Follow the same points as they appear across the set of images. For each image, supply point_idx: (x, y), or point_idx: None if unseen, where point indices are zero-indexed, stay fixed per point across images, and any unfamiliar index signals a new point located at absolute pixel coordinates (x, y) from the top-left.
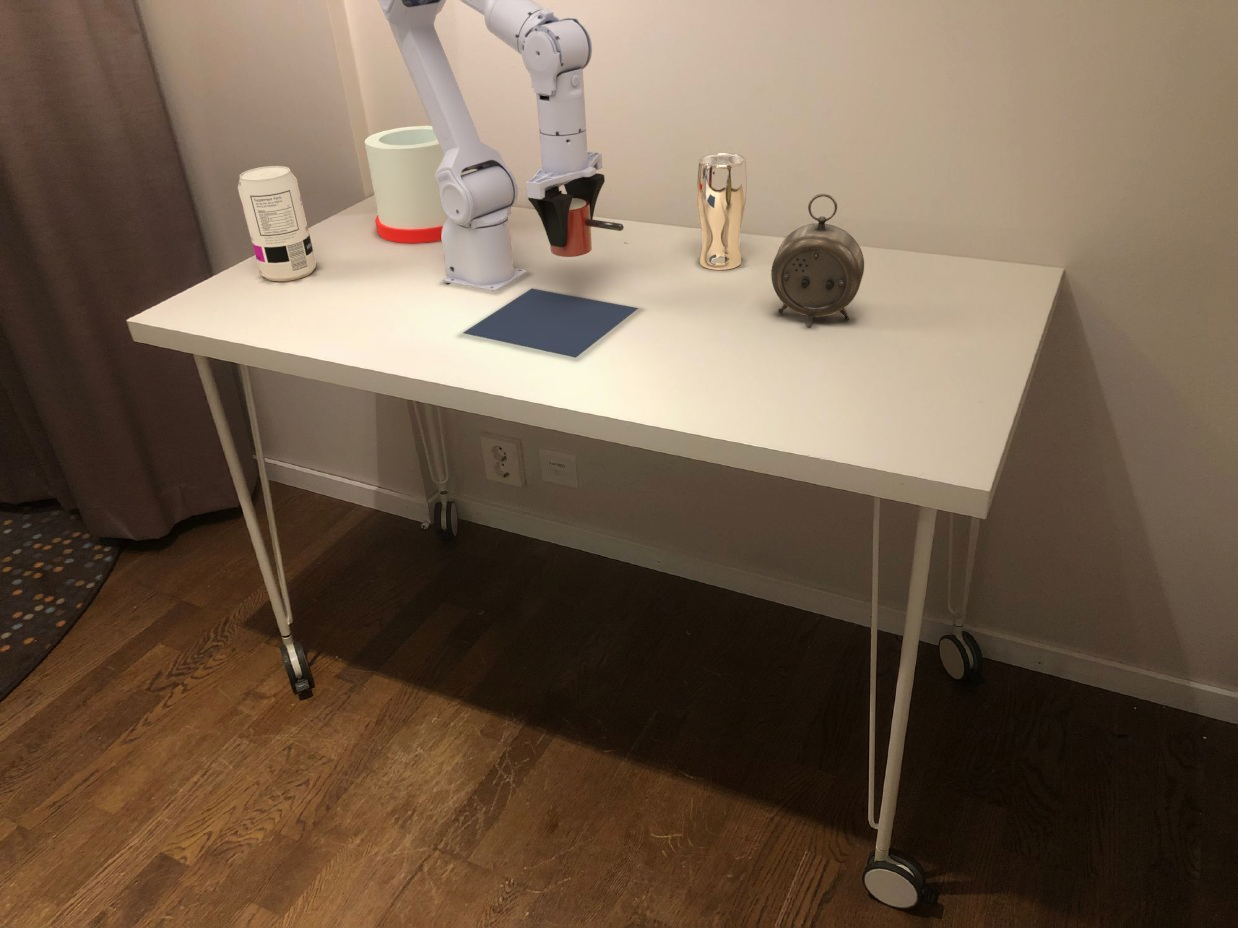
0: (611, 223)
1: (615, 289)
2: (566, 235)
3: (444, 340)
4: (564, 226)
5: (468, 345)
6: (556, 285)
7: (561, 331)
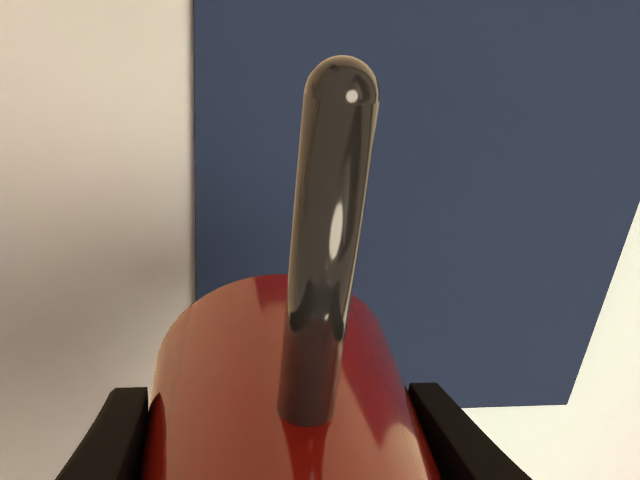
0: (350, 196)
1: (26, 156)
2: (446, 422)
3: (600, 418)
4: (512, 472)
5: (624, 353)
6: (114, 370)
7: (508, 151)
